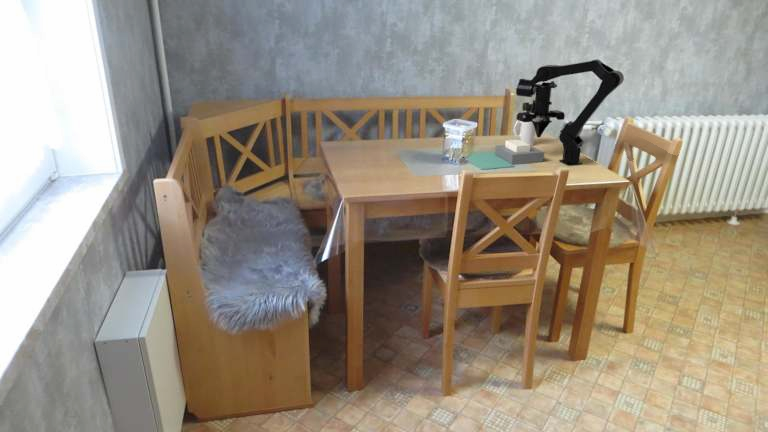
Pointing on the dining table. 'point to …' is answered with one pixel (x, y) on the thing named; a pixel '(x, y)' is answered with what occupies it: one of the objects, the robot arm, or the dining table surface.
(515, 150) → the tile
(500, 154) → the grey square slab
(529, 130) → the mug
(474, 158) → the mat
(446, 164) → the dining table surface
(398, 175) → the dining table surface
